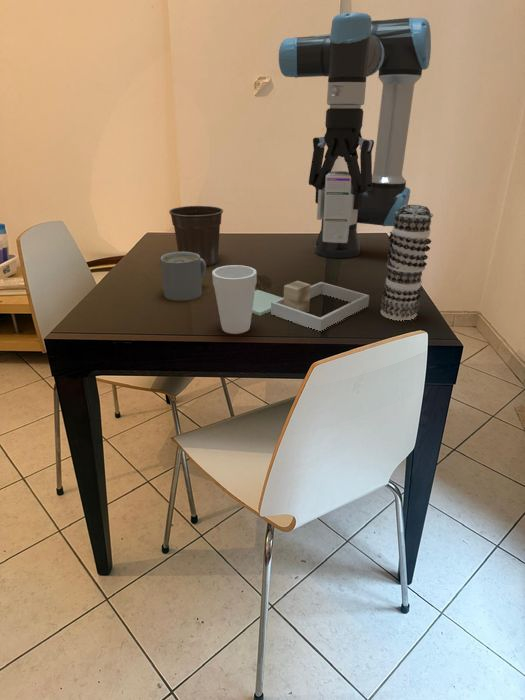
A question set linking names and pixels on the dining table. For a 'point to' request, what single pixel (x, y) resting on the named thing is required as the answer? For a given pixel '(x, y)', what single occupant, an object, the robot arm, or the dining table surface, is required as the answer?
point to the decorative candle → (406, 262)
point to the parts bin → (321, 323)
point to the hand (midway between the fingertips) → (336, 221)
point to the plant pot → (198, 231)
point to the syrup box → (336, 207)
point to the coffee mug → (182, 275)
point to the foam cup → (235, 296)
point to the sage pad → (263, 302)
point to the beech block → (297, 296)
